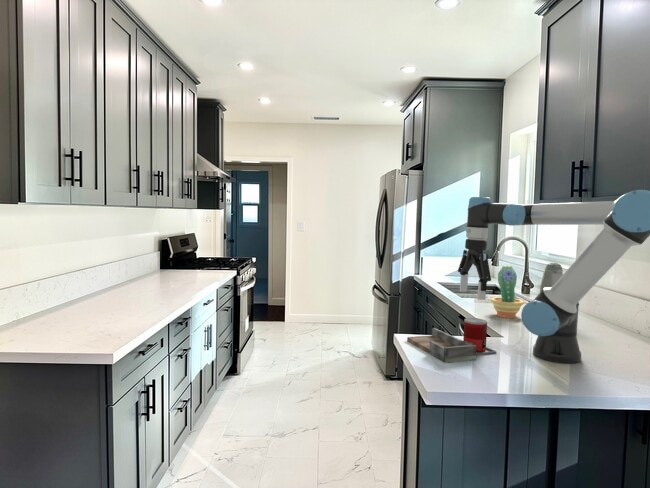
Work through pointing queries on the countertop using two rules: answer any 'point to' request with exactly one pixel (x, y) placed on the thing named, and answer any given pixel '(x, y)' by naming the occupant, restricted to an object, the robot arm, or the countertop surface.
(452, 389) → the countertop surface
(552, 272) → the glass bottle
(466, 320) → the canned food
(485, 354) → the frame
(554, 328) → the robot arm
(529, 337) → the countertop surface
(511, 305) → the potted cactus
